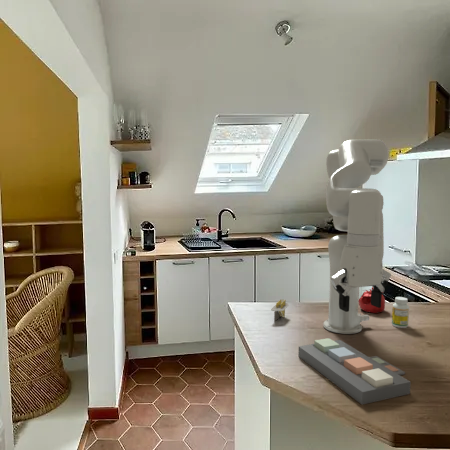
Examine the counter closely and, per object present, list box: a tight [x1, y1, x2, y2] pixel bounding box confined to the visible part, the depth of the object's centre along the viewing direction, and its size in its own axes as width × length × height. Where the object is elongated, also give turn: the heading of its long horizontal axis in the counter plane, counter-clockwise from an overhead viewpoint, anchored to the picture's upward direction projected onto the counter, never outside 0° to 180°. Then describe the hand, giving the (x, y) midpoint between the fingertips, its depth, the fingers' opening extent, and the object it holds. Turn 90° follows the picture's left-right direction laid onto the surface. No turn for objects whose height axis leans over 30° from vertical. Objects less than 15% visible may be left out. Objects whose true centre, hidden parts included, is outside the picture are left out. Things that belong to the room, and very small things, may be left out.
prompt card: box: [369, 355, 406, 376], centre depth 120 cm, size 5×11×1 cm, turn 21°
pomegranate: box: [358, 286, 386, 314], centre depth 168 cm, size 10×10×9 cm
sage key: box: [313, 337, 339, 353], centre depth 126 cm, size 5×5×3 cm
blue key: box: [328, 347, 355, 363], centre depth 119 cm, size 5×5×3 cm
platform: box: [270, 299, 289, 322], centre depth 159 cm, size 12×18×7 cm, turn 155°
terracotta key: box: [344, 357, 373, 375], centre depth 113 cm, size 5×5×3 cm
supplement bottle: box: [391, 296, 410, 329], centre depth 152 cm, size 5×5×10 cm
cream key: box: [362, 368, 393, 388], centre depth 106 cm, size 5×5×3 cm
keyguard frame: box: [297, 339, 411, 405], centre depth 116 cm, size 14×28×3 cm, turn 21°
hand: (360, 308), depth 111 cm, fingers open, 9 cm apart
